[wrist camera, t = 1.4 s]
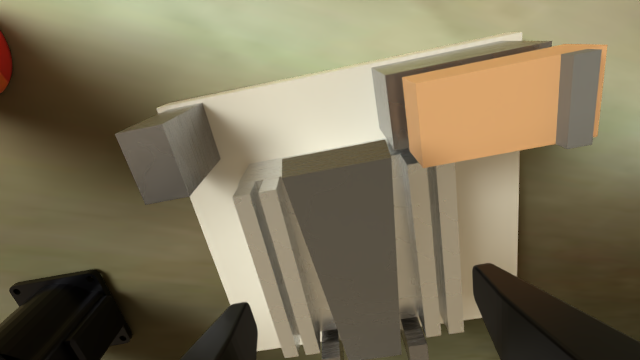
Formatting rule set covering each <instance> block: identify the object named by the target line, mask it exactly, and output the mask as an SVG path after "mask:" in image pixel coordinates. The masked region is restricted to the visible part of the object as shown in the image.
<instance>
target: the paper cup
mask: <svg viewBox="0 0 640 360" xmlns="http://www.w3.org/2000/svg"><path fill="white" fill-rule="evenodd" d="M11 75H12V57H11V53H10V49H9V46H8V44H7V41H6V39H5V37H4V36H3V34H2V32H1V31H0V94H1V93H2V92H3V91H4V90H5V88H6V87H7V86H8V84H9V82H10V79H11Z"/></svg>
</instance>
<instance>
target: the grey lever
mask: <svg viewBox="0 0 640 360" xmlns="http://www.w3.org/2000/svg"><path fill="white" fill-rule="evenodd" d="M282 180H283V183H284V185H285V188H286V191H287V194H288V196H289V199H290V202H291V204H292V207H293V210H294V213H295V215H296V218H297V221H298V224H299V226H300V229H301V232H302V234H303V237H304V240H305V243H306V245H307V248H308V251H309V253H310V256H311V259H312V262H313V264H314V267H315V270H316V273H317V275H318V278H319V281H320V283H321V286H322V289H323V292H324V294H325V297H326V300H327V303H328V305H329V308H330V311H331V313H332V316H333V319H334V322H335V324H336V327H337V330H338V333H339V335H340V338H341V341H342V343H343V346H344V349H345V352H346V354H347V357H348V360H367V359H374V358H381V357H388V356H395V355H401V336H400V316H399V296H398V277H397V257H396V238H395V218H394V199H393V179H392V160H391V155H390V152H389V149H388V146H387V143H386V141H385V140H379V141H374V142H369V143H364V144H359V145H353V146H348V147H343V148H338V149H332V150H327V151H322V152H317V153H311V154H306V155H301V156H296V157H290V158H285V159H282Z"/></svg>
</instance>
